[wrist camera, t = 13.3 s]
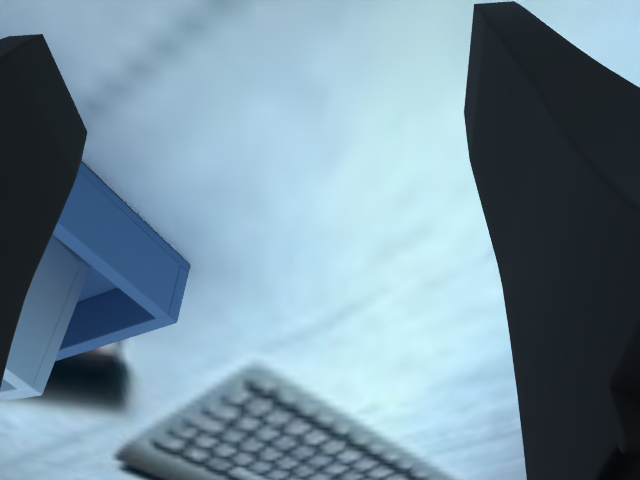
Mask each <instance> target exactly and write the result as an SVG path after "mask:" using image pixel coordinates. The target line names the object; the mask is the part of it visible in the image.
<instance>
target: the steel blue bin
mask: <svg viewBox="0 0 640 480" xmlns="http://www.w3.org/2000/svg"><path fill="white" fill-rule="evenodd" d="M53 235H54V236H55V237H57V238H58V239H59V240H60V241H62V242H63V243H64V244H65V245H66V246H68V247H69V248H70V249H71V250H73V251H74V252H75V253H76V254H78V255H79V256H80V257H81V258H82V260H83V261H84V262H85V263H86V264H87V265H88V266H89V267H90V270H89V273H88V274H87V277H86V280H85V282H84V285H83V288H82V290H81V293H80V296H79V298H78V301H77V303H76V306H75V309H74V311H73V314H72V317H71V319H70V322H69V325H68V327H67V330H66V333H65V335H64V338H63V341H62V343H61V346H60V348H59V351H58V354H57V356H56V359H55V361H57V360H60V359H63V358H67V357H70V356H73V355H76V354H79V353H82V352H85V351H89V350H92V349H95V348H98V347H101V346H104V345H108V344H111V343H114V342H117V341H120V340H123V339H127V338H130V337H133V336H136V335H139V334H142V333H145V332H149V331H152V330H155V329H158V328H161V327H164V326H168V325H171V324H174V323H176V322H177V320H178V316H179V311H180V307H181V303H182V299H183V294H184V290H185V286H186V281H187V277H188V273H189V269H190V265H189V264H188V263H187V262H186V261H185V260H184V259H183V258H182V257H181V256H180V255H179V254H178V253H176V252H175V251H174V250H173V249H172V248H171V247H170V246H169V245H168V244H167V243H166V242H165V241H164V240H163V239H162V238H161V237H160V236H159V235H158V234H156V233H155V232H154V231H153V230H152V229H151V228H150V227H149V226H148V225H147V224H146V223H145V222H144V221H143V220H142V219H141V218H140V217H139V216H138V215H137V214H135V213H134V212H133V211H132V210H131V209H130V208H129V207H128V206H127V205H126V204H125V203H124V202H123V201H122V200H121V199H120V198H119V197H118V196H117V195H115V194H114V193H113V192H112V191H111V190H110V189H109V188H108V187H107V186H106V185H105V184H104V183H103V182H102V181H101V180H100V179H99V178H98V177H97V176H96V175H94V174H93V173H92V172H91V171H90V170H89V169H88V168H87V167H86V166H85V165H84V164H83V163H82V162H80V166H79V170H78V173H77V177H76V180H75V182H74V185H73V187H72V190H71V192H70V195H69V197H68V199H67V202H66V204H65V206H64V209H63V211H62V213H61V216H60V218H59V220H58V222H57V225H56V227H55V229H54V231H53Z"/></svg>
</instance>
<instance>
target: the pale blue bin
mask: <svg viewBox="0 0 640 480" xmlns="http://www.w3.org/2000/svg"><path fill="white" fill-rule="evenodd" d="M89 270H90V267H89V266H88V265H87V264H86V263H85V262H84V261H83V260H82V258H81V257H80V256H79V255H78V254H76V253H75V252H74V251H73V250H71V249H70V248H69V247H68V246H66V245H65V244H64V243H63V242H62V241H60V240H59V239H58V238H57V237H55V236H54V235H53V234H52V236H51V238H50V240H49V243H48V245H47V247H46V249H45V252H44V254H43V256H42V258H41V261H40V263H39V265H38V268H37V270H36V272H35V274H34V277H33V279H32V282H31V284H30V287H29V290H28V292H27V295H26V298H25V301H24V304H23V307H22V311H21V314H20V317H19V321H18V324H17V328H16V331H15V334H14V338H13V341H12V344H11V348H10V352H9V356H8V360H7V364H6V368H5V372H4V376H3V380H2V384H1V388H0V402H1V401H8V400H14V399H20V398H27V397H33V396H39V395H42V393H43V391H44V388H45V386H46V383H47V380H48V378H49V375H50V372H51V370H52V367H53V364H54V362H55V359H56V356H57V354H58V351H59V348H60V346H61V343H62V341H63V338H64V335H65V333H66V330H67V327H68V325H69V322H70V319H71V317H72V314H73V311H74V309H75V306H76V303H77V301H78V298H79V296H80V293H81V290H82V288H83V285H84V282H85V280H86V277H87V274H88V273H89Z"/></svg>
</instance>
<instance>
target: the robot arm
mask: <svg viewBox="0 0 640 480" xmlns="http://www.w3.org/2000/svg"><path fill="white" fill-rule="evenodd" d="M464 116H465V125H466V134H467V142H468V150H469V158H470V163H471V167H472V171H473V174H474V178H475V182H476V186H477V190H478V193H479V197H480V201H481V204H482V208H483V212H484V215H485V219H486V223H487V226H488V230H489V234H490V238H491V241H492V245H493V249H494V252H495V256H496V260H497V263H498V268H499V273H500V277H501V282H502V287H503V294H504V300H505V307H506V314H507V321H508V327H509V334H510V341H511V349H512V356H513V364H514V371H515V379H516V386H517V395H518V403H519V412H520V420H521V429H522V438H523V446H524V455H525V465H526V475H527V480H640V88H639V87H638V86H636V85H634V84H632V83H631V82H629V81H628V80H626V79H624V78H623V77H621V76H619V75H618V74H616V73H615V72H613V71H611V70H610V69H608V68H606V67H605V66H603V65H602V64H600V63H599V62H597V61H596V60H594V59H593V58H591V57H590V56H588V55H587V54H585V53H584V52H583V51H581V50H580V49H578V48H577V47H576V46H574V45H573V44H571V43H570V42H569V41H567V40H566V39H565V38H563V37H562V36H561V35H559V34H558V33H557V32H555V31H554V30H553V29H551V28H550V27H549V26H547V25H546V24H545V23H544V22H542V21H541V20H540V19H538V18H537V17H536V16H534V15H533V14H532V13H530V12H529V11H528V10H526V9H525V8H524V7H522V6H521V5H519V4H517V3H516V2H514V1H512V2H498V3H483V4H474V12H473V23H472V33H471V44H470V55H469V65H468V76H467V86H466V97H465V108H464ZM86 136H87V130H86V128H85V126H84V124H83V122H82V119H81V117H80V115H79V113H78V111H77V108H76V106H75V104H74V102H73V100H72V98H71V95H70V93H69V91H68V89H67V87H66V84H65V82H64V80H63V78H62V76H61V74H60V71H59V69H58V67H57V65H56V63H55V60H54V58H53V56H52V54H51V52H50V50H49V47H48V45H47V43H46V41H45V39H44V36H43V34H37V35H23V36H9V37H6V38H3V39H0V388H1V384H2V380H3V376H4V372H5V368H6V364H7V360H8V356H9V352H10V348H11V344H12V341H13V338H14V334H15V331H16V328H17V324H18V321H19V317H20V314H21V311H22V307H23V304H24V301H25V298H26V295H27V292H28V290H29V287H30V284H31V282H32V279H33V277H34V274H35V272H36V270H37V268H38V265H39V263H40V261H41V258H42V256H43V254H44V252H45V249H46V247H47V245H48V243H49V240H50V238H51V236H52V234H53V231H54V229H55V227H56V225H57V222H58V220H59V218H60V216H61V213H62V211H63V209H64V206H65V204H66V202H67V199H68V197H69V195H70V192H71V190H72V187H73V185H74V182H75V180H76V177H77V173H78V170H79V166H80V162H81V159H82V154H83V150H84V145H85V141H86Z"/></svg>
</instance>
